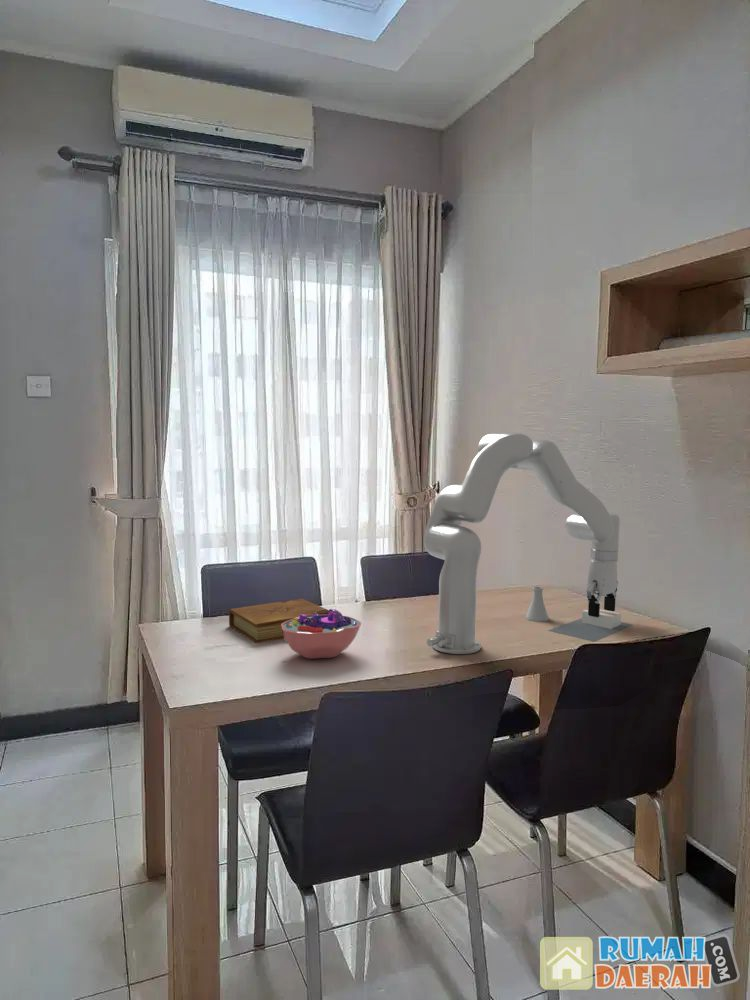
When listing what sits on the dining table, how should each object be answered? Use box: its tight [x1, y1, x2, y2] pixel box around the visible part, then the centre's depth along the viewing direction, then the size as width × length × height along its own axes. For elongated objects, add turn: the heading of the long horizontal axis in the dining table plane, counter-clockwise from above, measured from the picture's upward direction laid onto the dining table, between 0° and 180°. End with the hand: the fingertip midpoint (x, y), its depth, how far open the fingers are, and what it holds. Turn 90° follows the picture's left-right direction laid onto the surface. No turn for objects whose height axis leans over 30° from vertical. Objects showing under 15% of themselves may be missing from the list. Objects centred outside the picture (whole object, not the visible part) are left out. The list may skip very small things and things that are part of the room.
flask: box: [524, 586, 550, 623], centre depth 205 cm, size 7×7×10 cm
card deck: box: [581, 608, 622, 629], centre depth 200 cm, size 9×6×4 cm, turn 45°
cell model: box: [281, 608, 362, 660], centre depth 170 cm, size 17×20×11 cm
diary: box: [228, 598, 330, 644], centre depth 193 cm, size 23×19×6 cm
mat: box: [547, 617, 633, 643], centre depth 196 cm, size 24×14×1 cm, turn 135°
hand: (601, 613), depth 200 cm, fingers open, 9 cm apart
